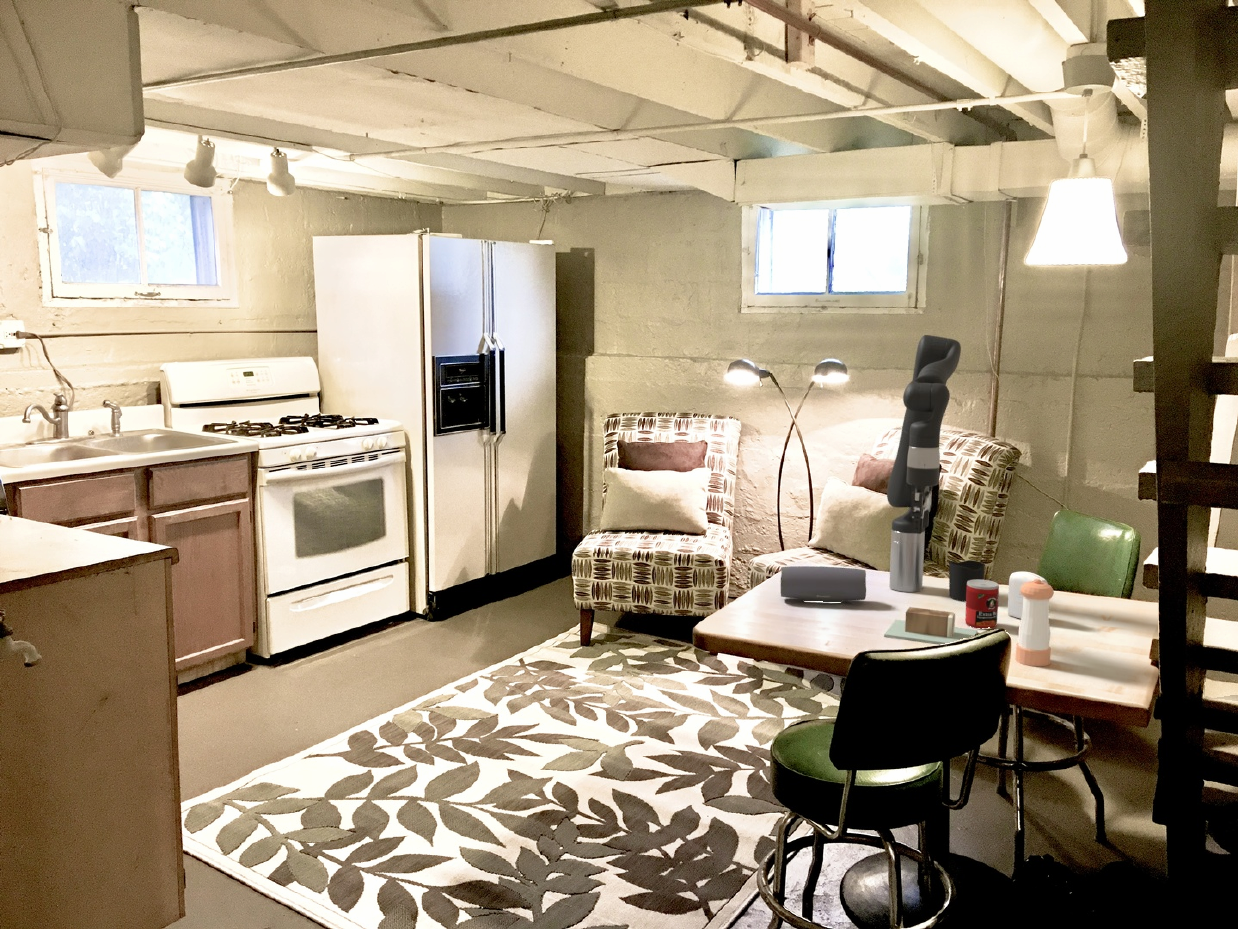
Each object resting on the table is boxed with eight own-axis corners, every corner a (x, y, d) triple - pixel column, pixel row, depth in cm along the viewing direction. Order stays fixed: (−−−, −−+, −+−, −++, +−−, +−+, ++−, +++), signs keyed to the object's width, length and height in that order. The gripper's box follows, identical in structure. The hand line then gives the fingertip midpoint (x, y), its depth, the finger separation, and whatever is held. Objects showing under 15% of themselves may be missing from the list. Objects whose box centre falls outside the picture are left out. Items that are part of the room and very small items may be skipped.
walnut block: (909, 607, 248) (955, 612, 244) (908, 626, 249) (954, 632, 244) (905, 612, 244) (952, 617, 239) (905, 631, 245) (951, 637, 240)
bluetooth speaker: (862, 599, 277) (863, 564, 275) (865, 608, 268) (867, 572, 266) (780, 596, 280) (781, 561, 278) (780, 605, 271) (781, 569, 269)
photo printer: (1004, 615, 261) (1007, 569, 259) (1015, 613, 263) (1018, 567, 261) (1037, 625, 252) (1040, 578, 250) (1048, 623, 254) (1051, 576, 253)
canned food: (977, 630, 248) (979, 588, 246) (958, 621, 255) (960, 580, 254) (1003, 628, 250) (1006, 586, 248) (984, 619, 257) (986, 578, 256)
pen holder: (979, 604, 271) (981, 569, 270) (944, 599, 276) (946, 564, 275) (986, 596, 279) (987, 562, 278) (951, 592, 284) (953, 558, 283)
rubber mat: (895, 621, 255) (895, 619, 255) (977, 632, 246) (977, 630, 246) (884, 636, 243) (884, 634, 243) (969, 648, 234) (969, 646, 234)
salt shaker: (1041, 655, 229) (1046, 575, 226) (1055, 666, 221) (1061, 583, 219) (1010, 656, 228) (1014, 575, 226) (1023, 666, 221) (1028, 583, 219)
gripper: (934, 469, 233) (931, 537, 235) (943, 462, 245) (940, 526, 248) (902, 467, 236) (899, 534, 238) (912, 460, 249) (910, 523, 251)
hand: (920, 530), depth 243 cm, fingers open, 8 cm apart
